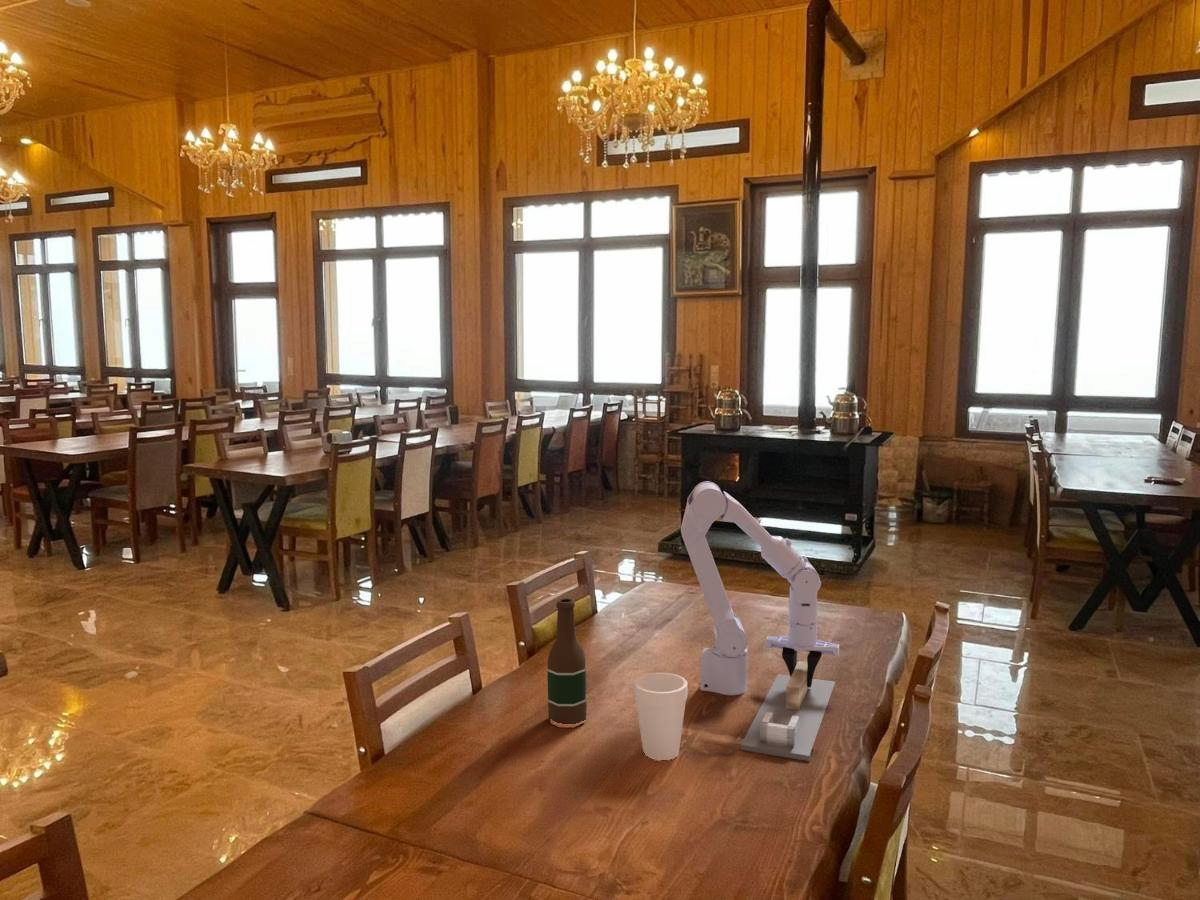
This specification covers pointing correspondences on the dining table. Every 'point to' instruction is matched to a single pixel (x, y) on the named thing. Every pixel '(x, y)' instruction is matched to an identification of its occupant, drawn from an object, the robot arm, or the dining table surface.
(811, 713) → the assembly board
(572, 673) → the beer bottle
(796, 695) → the birch slat
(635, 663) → the dining table surface
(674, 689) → the foam cup
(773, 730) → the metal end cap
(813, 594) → the robot arm
